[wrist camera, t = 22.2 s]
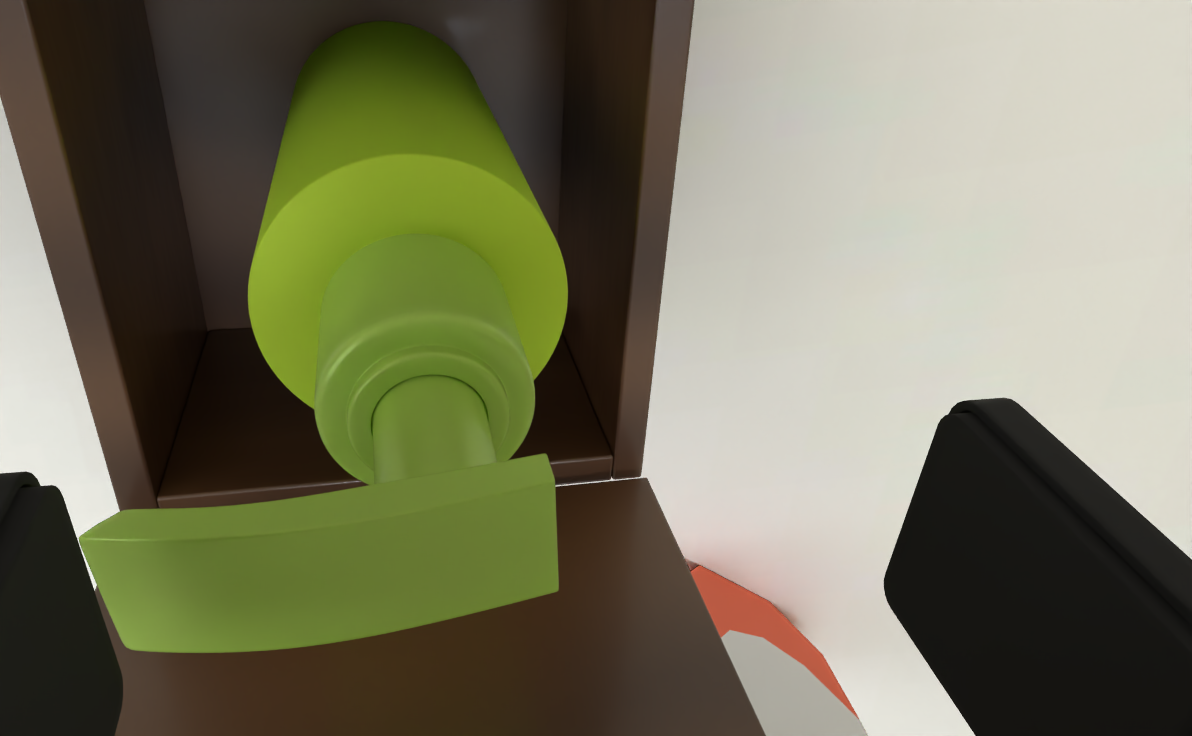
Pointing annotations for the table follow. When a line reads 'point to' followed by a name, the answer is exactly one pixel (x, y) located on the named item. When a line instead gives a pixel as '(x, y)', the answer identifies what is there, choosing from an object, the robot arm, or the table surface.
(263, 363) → the chest
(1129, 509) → the robot arm
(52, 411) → the table surface
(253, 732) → the lid
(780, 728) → the french fries container
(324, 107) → the soap dispenser
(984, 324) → the table surface
